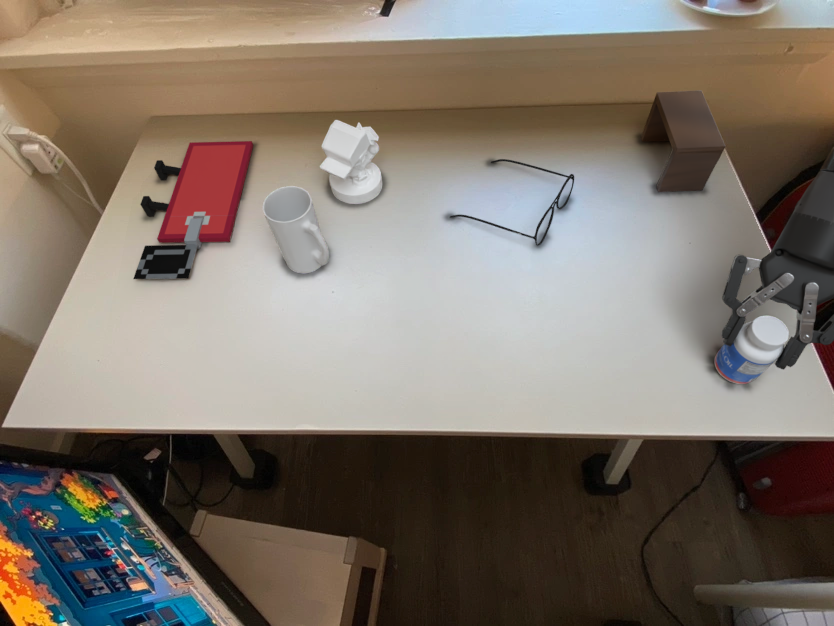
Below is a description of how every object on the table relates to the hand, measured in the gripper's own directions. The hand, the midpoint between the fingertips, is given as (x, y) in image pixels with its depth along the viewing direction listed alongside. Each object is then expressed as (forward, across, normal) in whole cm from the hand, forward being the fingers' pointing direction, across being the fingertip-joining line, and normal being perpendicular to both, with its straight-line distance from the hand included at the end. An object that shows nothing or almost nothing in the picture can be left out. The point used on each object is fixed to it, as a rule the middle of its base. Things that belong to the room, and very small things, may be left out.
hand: (753, 355), depth 66 cm
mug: (+13, -59, -4) cm, 60 cm away
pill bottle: (+3, 0, +6) cm, 7 cm away
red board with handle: (+14, -83, -5) cm, 84 cm away
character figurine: (+2, -62, +7) cm, 63 cm away
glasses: (-5, -38, +14) cm, 41 cm away
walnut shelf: (-20, -19, +29) cm, 40 cm away
